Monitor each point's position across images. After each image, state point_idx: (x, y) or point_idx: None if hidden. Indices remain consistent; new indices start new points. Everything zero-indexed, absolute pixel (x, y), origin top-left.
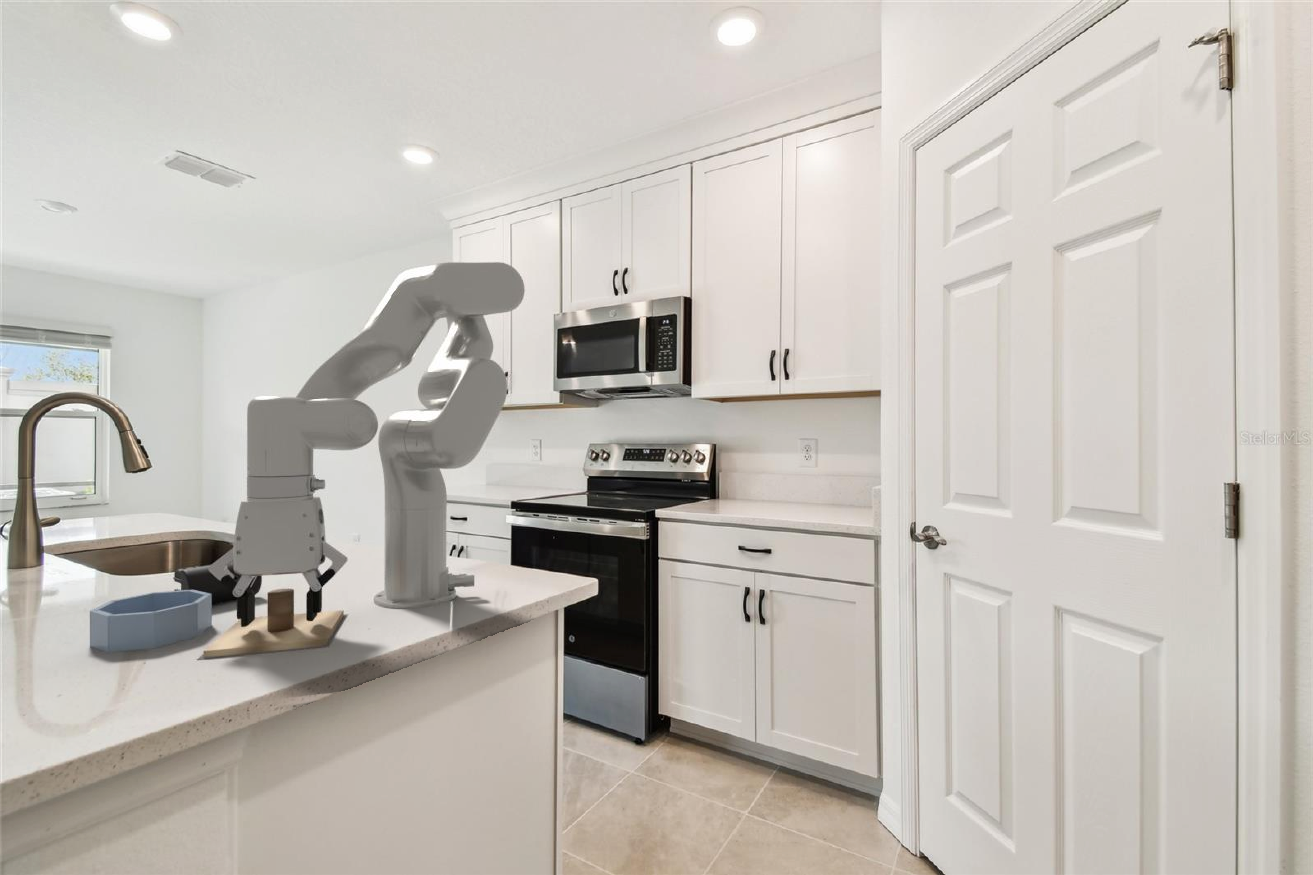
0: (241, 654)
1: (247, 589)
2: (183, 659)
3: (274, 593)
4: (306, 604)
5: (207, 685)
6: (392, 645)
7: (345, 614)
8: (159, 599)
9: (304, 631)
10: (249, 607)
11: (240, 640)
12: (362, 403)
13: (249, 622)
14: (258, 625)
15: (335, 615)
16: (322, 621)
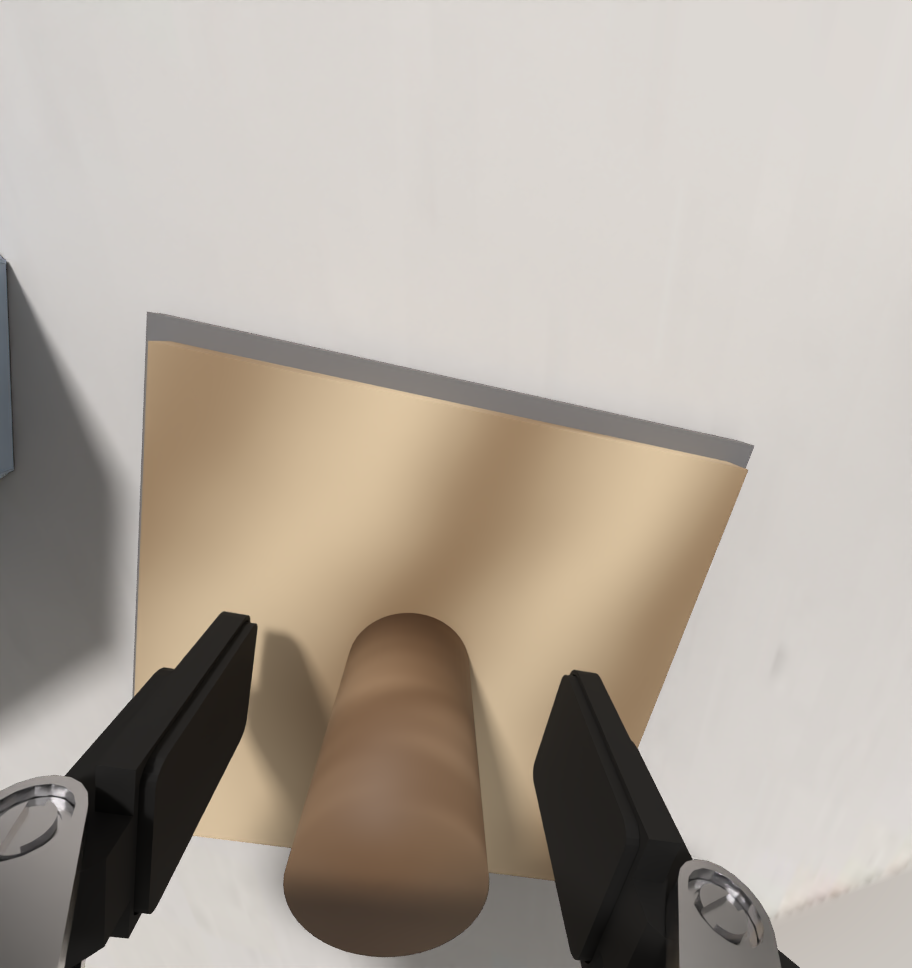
0: None
1: (89, 940)
2: (62, 710)
3: (342, 923)
4: (553, 873)
5: (236, 958)
6: (786, 876)
7: (741, 442)
8: None
9: (514, 757)
10: (200, 792)
11: (249, 762)
12: None
13: (244, 710)
14: (288, 557)
15: (684, 563)
16: (605, 643)
